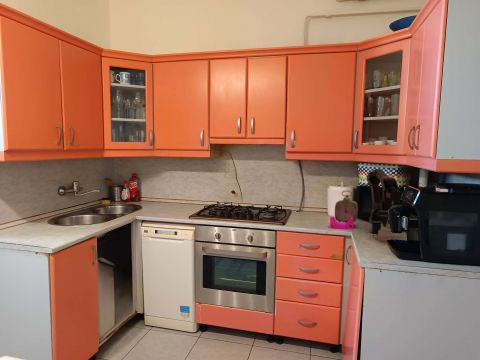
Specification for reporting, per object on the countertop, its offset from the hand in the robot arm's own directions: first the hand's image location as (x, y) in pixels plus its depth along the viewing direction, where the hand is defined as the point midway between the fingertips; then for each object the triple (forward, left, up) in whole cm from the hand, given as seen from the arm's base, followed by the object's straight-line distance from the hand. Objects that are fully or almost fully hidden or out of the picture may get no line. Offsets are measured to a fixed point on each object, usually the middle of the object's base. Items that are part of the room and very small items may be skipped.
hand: (386, 225), depth 185 cm
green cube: (0, 0, -3) cm, 3 cm away
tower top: (0, -1, -6) cm, 6 cm away
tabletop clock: (-18, -32, -9) cm, 38 cm away
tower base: (0, -1, -9) cm, 9 cm away
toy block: (-9, -32, -9) cm, 34 cm away
